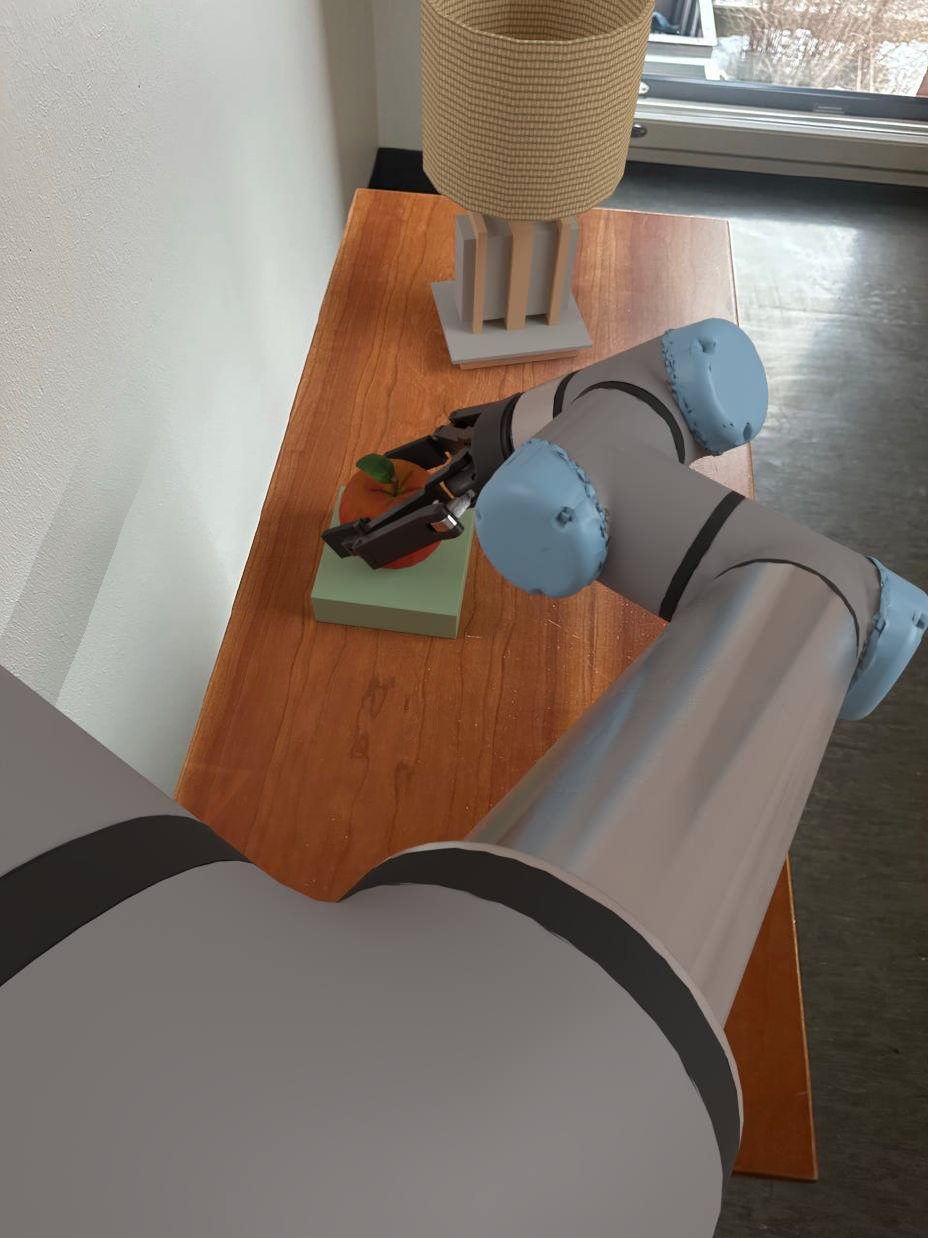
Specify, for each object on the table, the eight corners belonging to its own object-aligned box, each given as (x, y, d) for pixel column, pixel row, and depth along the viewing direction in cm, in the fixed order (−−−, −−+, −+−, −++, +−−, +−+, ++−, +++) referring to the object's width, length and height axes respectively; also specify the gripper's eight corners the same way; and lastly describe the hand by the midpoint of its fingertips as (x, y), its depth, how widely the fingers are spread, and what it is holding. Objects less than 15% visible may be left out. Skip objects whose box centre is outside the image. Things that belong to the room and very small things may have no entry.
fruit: (412, 605, 78) (408, 534, 69) (322, 557, 80) (309, 483, 72) (469, 531, 82) (472, 456, 74) (382, 488, 84) (376, 411, 76)
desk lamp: (440, 398, 97) (442, 52, 67) (411, 284, 107) (401, -61, 78) (613, 378, 100) (688, 34, 70) (568, 268, 110) (617, -73, 80)
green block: (456, 639, 81) (457, 616, 78) (315, 621, 82) (310, 597, 78) (474, 527, 88) (476, 501, 85) (344, 511, 89) (341, 484, 85)
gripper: (507, 596, 58) (324, 626, 75) (634, 386, 68) (449, 453, 85) (434, 513, 54) (261, 564, 72) (580, 306, 65) (399, 393, 82)
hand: (363, 504), depth 78 cm, fingers closed on fruit, 9 cm apart
